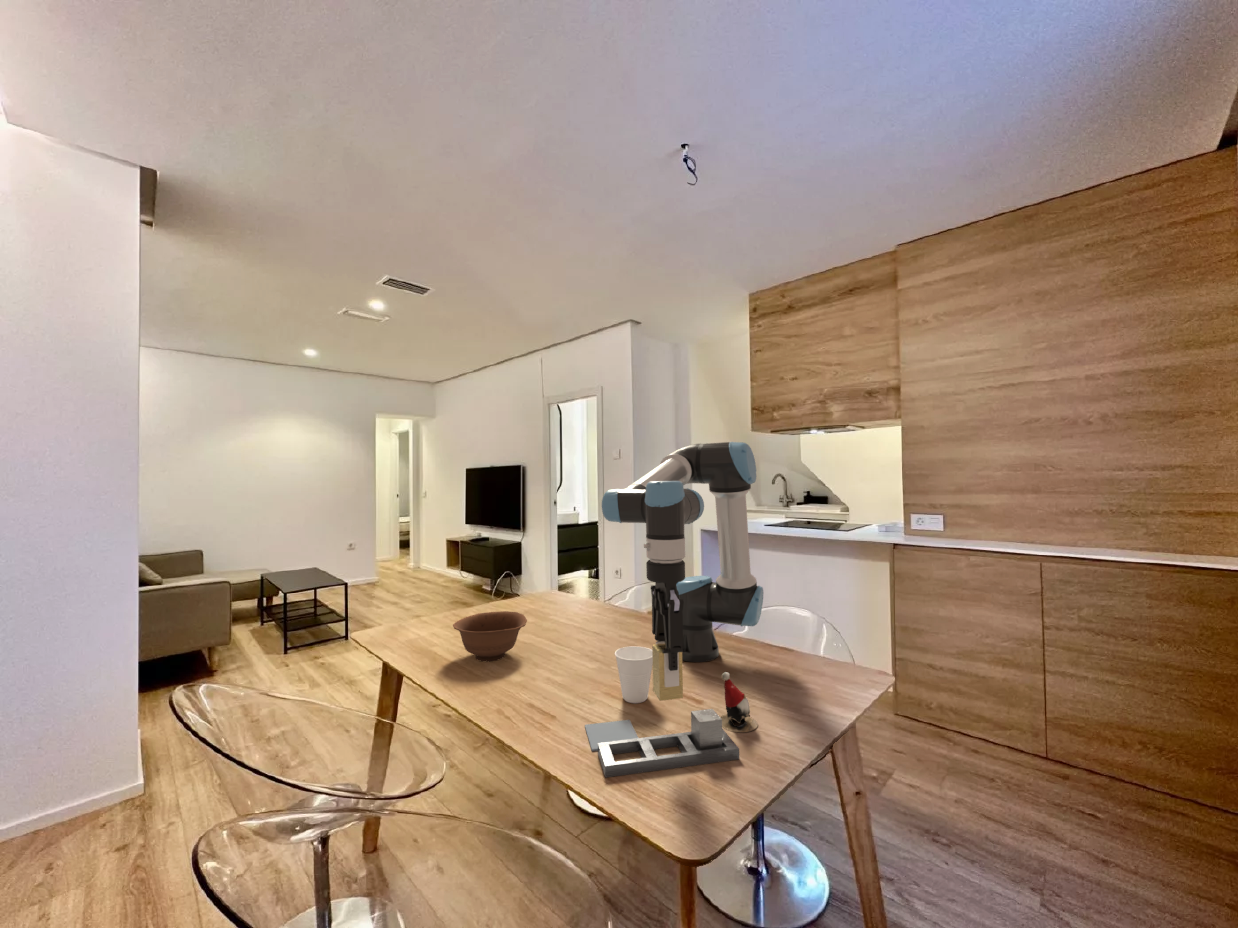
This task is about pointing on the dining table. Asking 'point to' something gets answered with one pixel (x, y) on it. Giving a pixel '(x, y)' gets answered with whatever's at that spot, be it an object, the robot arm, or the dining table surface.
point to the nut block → (658, 676)
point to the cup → (634, 672)
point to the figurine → (736, 708)
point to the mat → (609, 732)
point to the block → (706, 729)
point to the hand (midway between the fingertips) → (667, 679)
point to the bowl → (490, 633)
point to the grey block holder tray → (654, 762)
